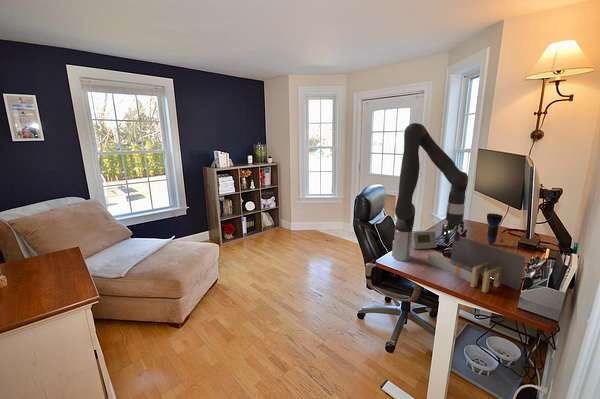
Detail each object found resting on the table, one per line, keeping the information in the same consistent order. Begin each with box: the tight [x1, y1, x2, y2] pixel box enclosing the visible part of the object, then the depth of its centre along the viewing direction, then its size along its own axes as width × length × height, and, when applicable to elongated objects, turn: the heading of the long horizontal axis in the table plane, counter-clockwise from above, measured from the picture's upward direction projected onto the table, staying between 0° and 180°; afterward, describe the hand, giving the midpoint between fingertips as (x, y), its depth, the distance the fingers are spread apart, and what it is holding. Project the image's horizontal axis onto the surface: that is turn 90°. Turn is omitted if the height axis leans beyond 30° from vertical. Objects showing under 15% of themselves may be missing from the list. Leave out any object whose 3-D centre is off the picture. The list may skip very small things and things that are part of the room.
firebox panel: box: [450, 234, 526, 291], centre depth 131 cm, size 32×1×16 cm, turn 28°
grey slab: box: [427, 252, 480, 283], centre depth 136 cm, size 24×5×5 cm, turn 28°
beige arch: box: [469, 262, 491, 288], centre depth 124 cm, size 2×12×10 cm, turn 118°
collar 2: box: [481, 266, 503, 294], centre depth 119 cm, size 2×12×10 cm, turn 118°
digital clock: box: [411, 229, 438, 250], centre depth 166 cm, size 16×9×11 cm, turn 86°
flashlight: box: [486, 212, 503, 246], centre depth 168 cm, size 8×8×20 cm
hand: (451, 242), depth 135 cm, fingers open, 8 cm apart
